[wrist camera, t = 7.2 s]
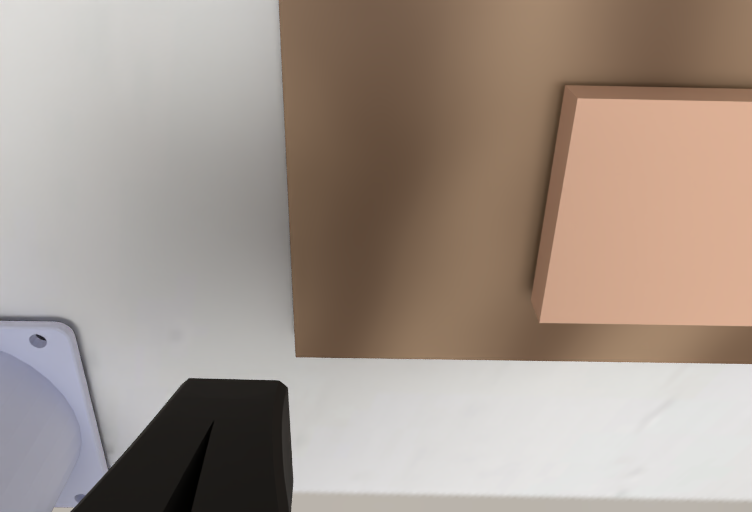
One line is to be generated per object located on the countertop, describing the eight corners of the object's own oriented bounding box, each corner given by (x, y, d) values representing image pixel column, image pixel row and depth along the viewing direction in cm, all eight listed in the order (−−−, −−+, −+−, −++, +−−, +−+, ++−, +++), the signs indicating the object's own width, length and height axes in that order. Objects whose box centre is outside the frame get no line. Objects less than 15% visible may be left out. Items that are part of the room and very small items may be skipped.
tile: (539, 322, 18) (765, 326, 18) (577, 97, 15) (847, 103, 15) (527, 290, 19) (735, 293, 19) (560, 79, 16) (807, 84, 16)
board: (299, 333, 21) (295, 356, 20) (283, -45, 16) (276, -40, 15) (798, 341, 21) (820, 365, 20) (950, -30, 16) (990, -24, 15)
